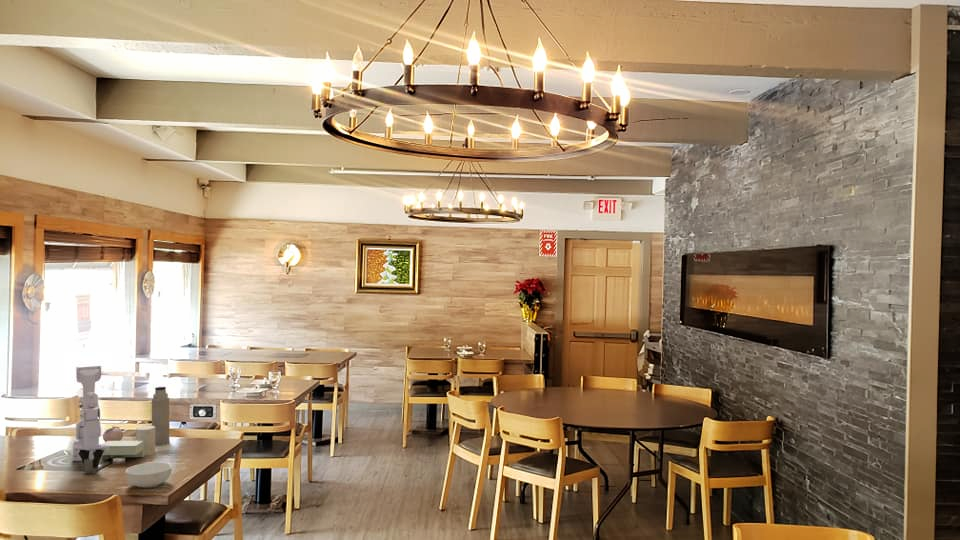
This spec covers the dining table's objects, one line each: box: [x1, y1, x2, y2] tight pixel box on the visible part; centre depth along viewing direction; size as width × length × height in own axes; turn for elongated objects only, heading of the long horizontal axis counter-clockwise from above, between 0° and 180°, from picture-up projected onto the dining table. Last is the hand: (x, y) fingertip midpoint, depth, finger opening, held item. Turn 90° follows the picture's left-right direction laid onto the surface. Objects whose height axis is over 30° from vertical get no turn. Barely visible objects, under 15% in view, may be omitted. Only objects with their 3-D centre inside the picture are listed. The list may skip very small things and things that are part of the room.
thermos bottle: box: [151, 386, 170, 446], centre depth 352 cm, size 8×8×28 cm
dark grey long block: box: [83, 456, 110, 475], centre depth 308 cm, size 4×16×6 cm, turn 3°
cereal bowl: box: [124, 461, 173, 488], centre depth 286 cm, size 17×17×7 cm
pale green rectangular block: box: [99, 440, 145, 463], centre depth 322 cm, size 17×10×8 cm, turn 93°
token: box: [112, 456, 126, 465], centre depth 318 cm, size 5×5×2 cm
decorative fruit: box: [102, 426, 124, 443], centre depth 346 cm, size 9×8×10 cm
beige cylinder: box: [135, 425, 156, 456], centre depth 334 cm, size 8×8×12 cm
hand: (91, 467), depth 303 cm, fingers closed on dark grey long block, 3 cm apart
